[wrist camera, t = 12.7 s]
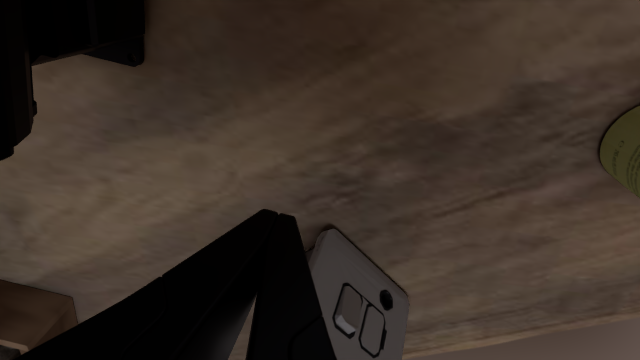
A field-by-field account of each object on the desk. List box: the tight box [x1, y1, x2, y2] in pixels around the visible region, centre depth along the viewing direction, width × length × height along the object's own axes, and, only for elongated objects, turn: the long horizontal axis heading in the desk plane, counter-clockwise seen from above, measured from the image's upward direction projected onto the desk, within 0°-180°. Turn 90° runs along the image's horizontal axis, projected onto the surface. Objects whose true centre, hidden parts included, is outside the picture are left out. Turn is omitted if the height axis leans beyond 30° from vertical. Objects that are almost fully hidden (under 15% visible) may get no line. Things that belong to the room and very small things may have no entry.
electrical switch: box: [305, 229, 409, 360], centre depth 24 cm, size 9×5×9 cm, turn 44°
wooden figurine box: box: [0, 280, 78, 355], centre depth 34 cm, size 9×15×5 cm, turn 167°
